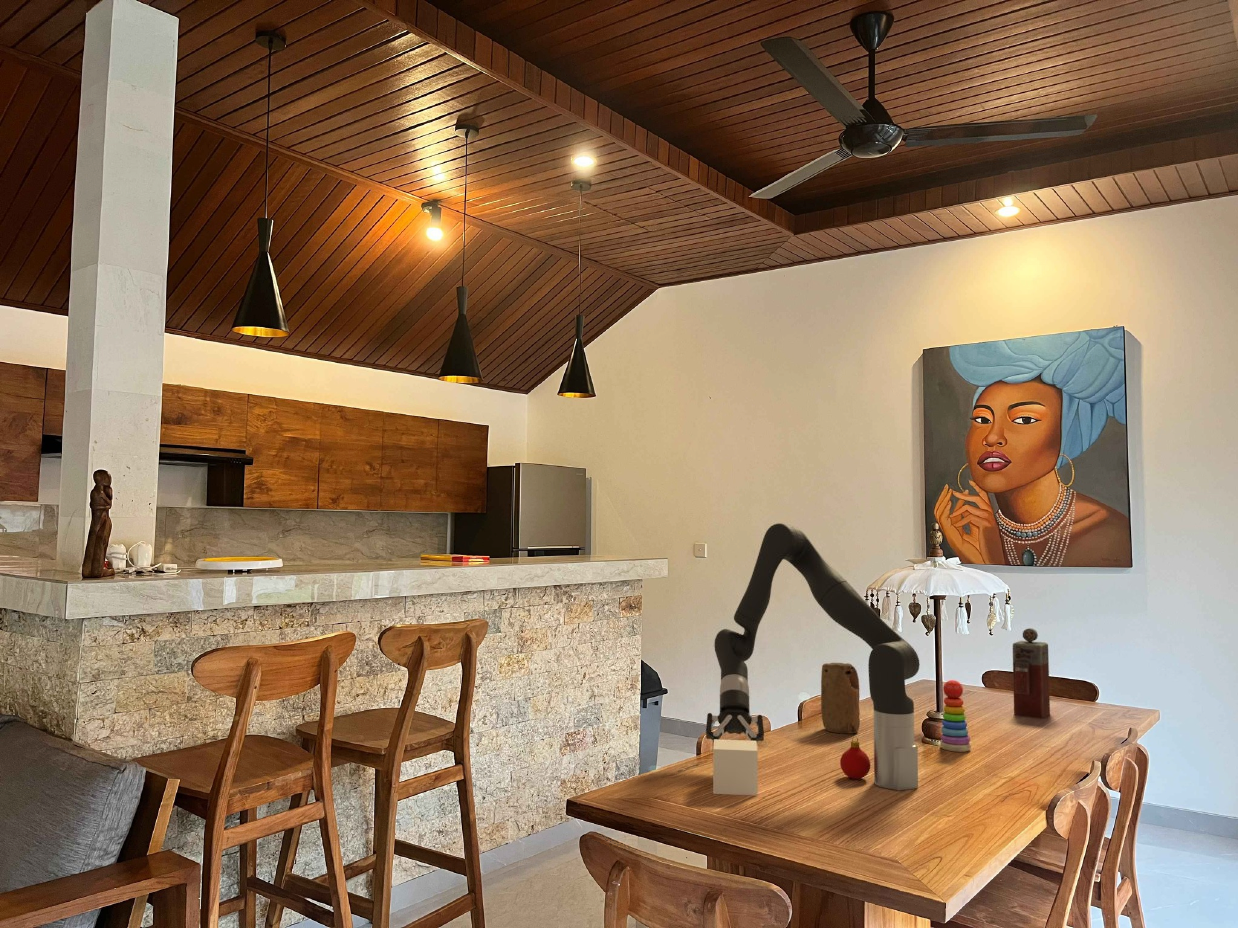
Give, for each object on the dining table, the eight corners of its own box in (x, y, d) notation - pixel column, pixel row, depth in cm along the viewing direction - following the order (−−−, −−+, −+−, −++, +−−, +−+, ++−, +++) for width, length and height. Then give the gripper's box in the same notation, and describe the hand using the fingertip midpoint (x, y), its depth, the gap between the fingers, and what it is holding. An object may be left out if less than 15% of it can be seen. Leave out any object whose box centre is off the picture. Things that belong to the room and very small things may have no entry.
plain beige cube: (714, 738, 214) (713, 748, 204) (756, 740, 212) (757, 750, 203) (714, 781, 213) (713, 793, 203) (756, 783, 212) (757, 795, 202)
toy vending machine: (1011, 715, 291) (1009, 628, 293) (1021, 710, 300) (1019, 626, 302) (1041, 719, 285) (1038, 631, 287) (1050, 714, 294) (1048, 628, 296)
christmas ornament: (849, 783, 212) (849, 740, 213) (834, 775, 219) (834, 733, 219) (876, 781, 214) (875, 738, 215) (860, 773, 221) (860, 732, 221)
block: (819, 730, 267) (818, 663, 269) (829, 726, 273) (828, 660, 275) (854, 735, 261) (853, 666, 262) (863, 731, 267) (862, 663, 268)
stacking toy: (946, 744, 252) (944, 676, 253) (975, 748, 247) (973, 679, 248) (935, 749, 246) (934, 680, 247) (965, 754, 241) (964, 683, 242)
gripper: (706, 687, 228) (705, 743, 216) (762, 689, 226) (765, 746, 214) (706, 704, 233) (705, 760, 221) (762, 706, 231) (764, 762, 219)
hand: (735, 753), depth 217 cm, fingers open, 8 cm apart
